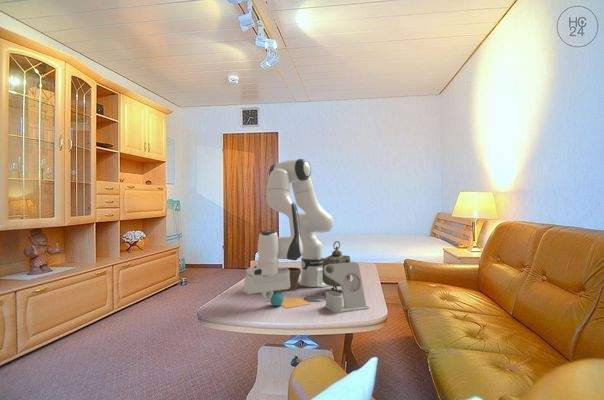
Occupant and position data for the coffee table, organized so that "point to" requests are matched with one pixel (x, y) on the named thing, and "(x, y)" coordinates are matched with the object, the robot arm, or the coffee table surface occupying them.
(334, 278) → the grey coffee machine
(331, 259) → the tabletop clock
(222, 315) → the coffee table surface
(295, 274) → the flower pot
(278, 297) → the ball
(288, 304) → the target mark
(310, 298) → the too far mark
